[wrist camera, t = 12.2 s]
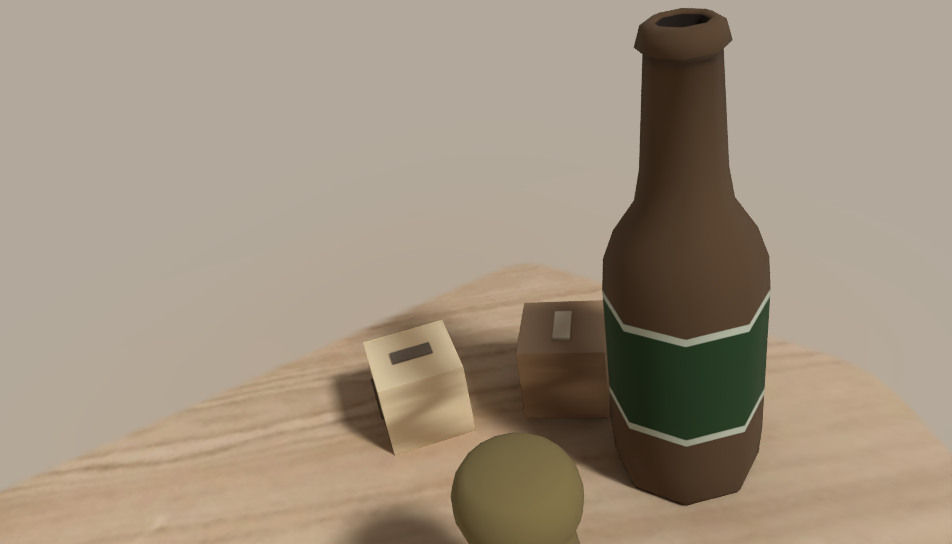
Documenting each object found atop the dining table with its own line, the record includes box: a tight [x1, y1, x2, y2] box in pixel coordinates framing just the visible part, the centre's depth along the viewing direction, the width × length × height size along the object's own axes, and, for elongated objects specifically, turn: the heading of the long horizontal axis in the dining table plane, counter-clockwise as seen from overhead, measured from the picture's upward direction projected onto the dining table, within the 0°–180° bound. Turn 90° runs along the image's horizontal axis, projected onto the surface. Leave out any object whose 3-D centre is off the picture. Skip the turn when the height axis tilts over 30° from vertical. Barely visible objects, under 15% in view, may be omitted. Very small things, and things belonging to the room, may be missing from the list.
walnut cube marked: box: [516, 300, 610, 418], centre depth 50 cm, size 5×5×5 cm
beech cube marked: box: [363, 320, 476, 455], centre depth 49 cm, size 5×5×5 cm
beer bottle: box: [602, 8, 770, 505], centre depth 39 cm, size 8×8×24 cm
